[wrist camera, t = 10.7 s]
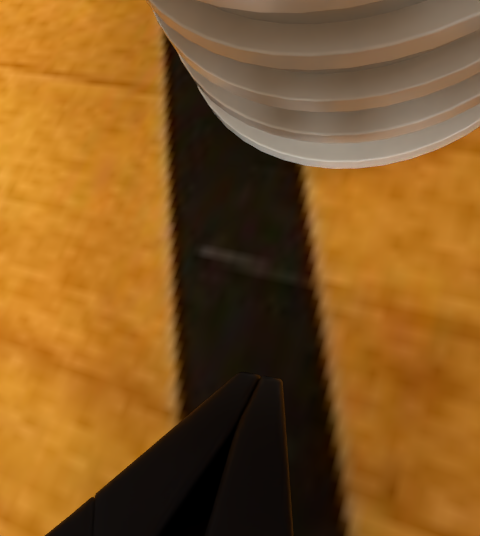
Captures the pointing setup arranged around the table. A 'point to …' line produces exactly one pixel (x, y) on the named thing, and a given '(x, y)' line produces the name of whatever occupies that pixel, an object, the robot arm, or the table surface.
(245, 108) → the plate stack
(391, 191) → the table surface
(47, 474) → the table surface
